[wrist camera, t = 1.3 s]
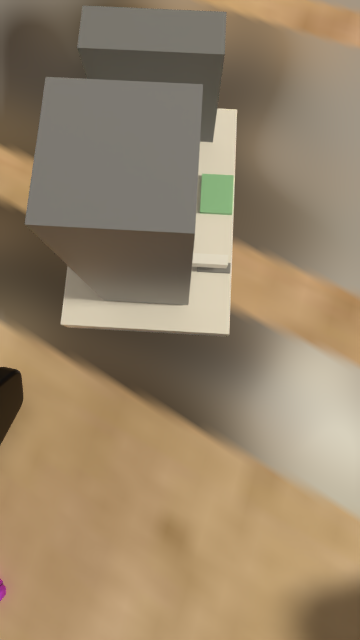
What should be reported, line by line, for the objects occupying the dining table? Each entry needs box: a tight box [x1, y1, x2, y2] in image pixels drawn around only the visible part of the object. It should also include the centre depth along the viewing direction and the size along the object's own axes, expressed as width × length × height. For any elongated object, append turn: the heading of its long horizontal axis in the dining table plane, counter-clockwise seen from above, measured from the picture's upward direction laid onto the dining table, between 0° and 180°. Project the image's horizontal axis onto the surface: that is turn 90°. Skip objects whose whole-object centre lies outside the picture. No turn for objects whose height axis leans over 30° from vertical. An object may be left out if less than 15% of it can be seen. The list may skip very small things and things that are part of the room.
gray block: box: [25, 77, 228, 305], centre depth 15 cm, size 5×9×10 cm, turn 87°
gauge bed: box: [61, 6, 237, 337], centre depth 18 cm, size 15×10×7 cm, turn 177°
